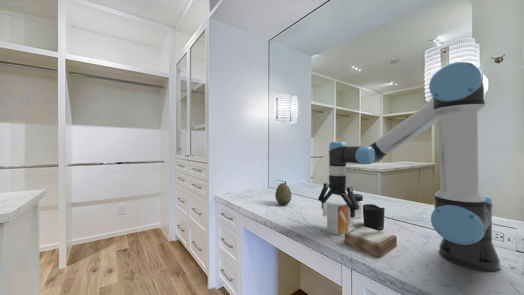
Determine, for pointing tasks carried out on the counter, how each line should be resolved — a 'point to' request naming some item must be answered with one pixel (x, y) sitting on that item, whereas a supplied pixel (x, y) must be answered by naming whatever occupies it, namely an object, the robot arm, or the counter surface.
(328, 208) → the small box
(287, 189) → the decorative egg
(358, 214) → the jar
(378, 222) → the pen holder
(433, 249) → the counter surface
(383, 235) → the plinth
